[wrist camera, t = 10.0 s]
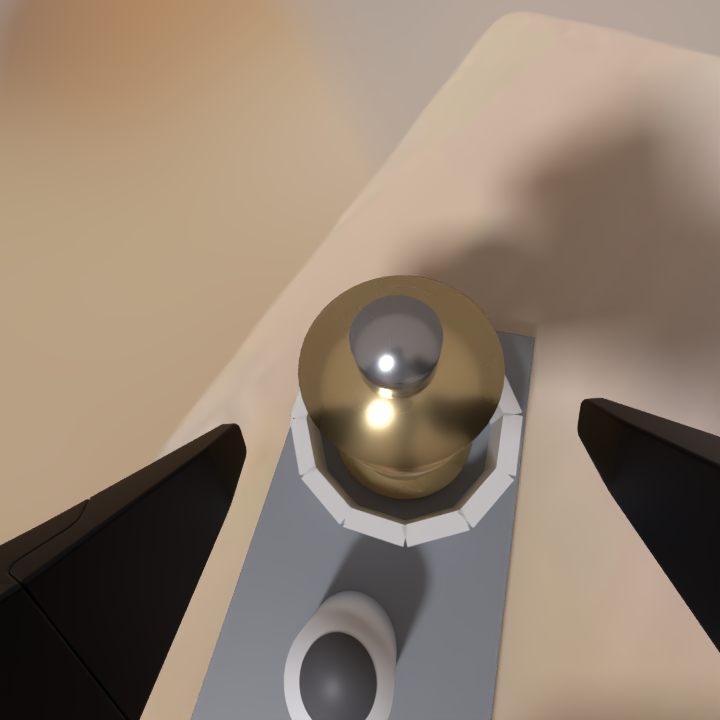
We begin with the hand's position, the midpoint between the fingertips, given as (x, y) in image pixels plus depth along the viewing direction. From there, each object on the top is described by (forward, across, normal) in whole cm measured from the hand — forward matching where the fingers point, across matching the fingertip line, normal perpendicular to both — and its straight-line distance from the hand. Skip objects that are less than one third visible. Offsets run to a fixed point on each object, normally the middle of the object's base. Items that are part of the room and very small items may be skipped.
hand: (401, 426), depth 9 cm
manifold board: (+5, +2, +10) cm, 11 cm away
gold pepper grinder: (+8, 0, +5) cm, 9 cm away
